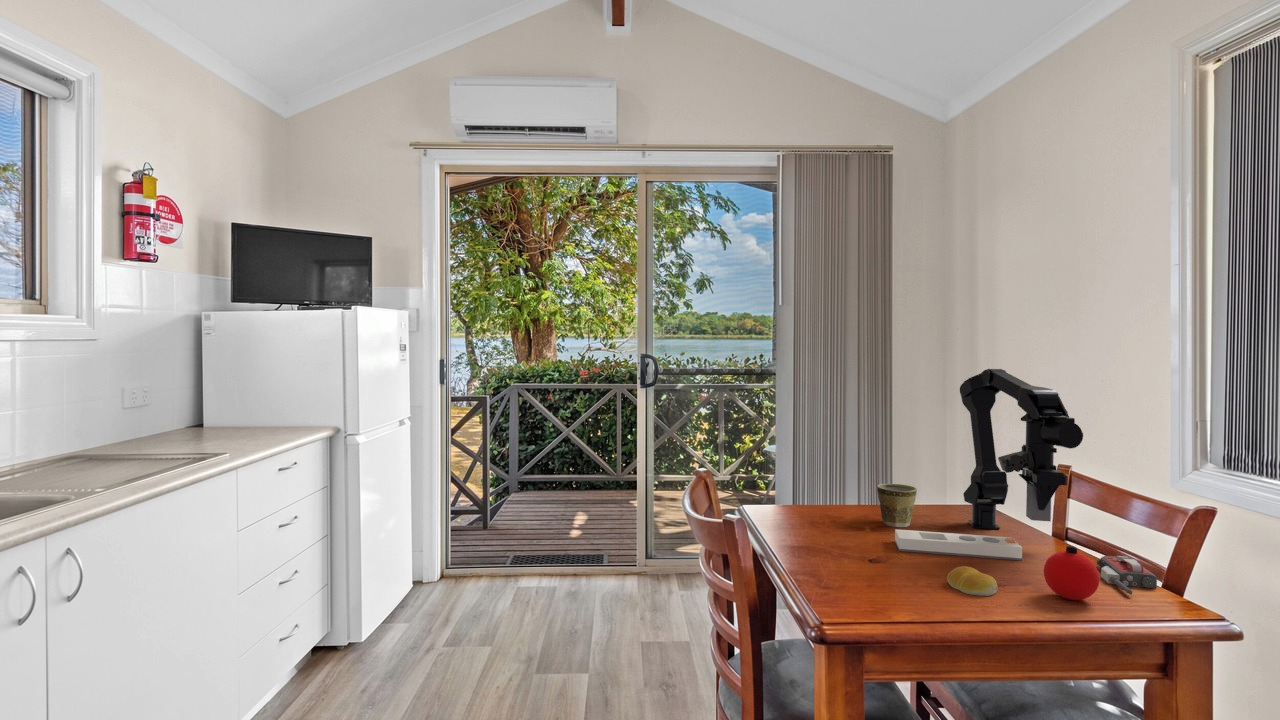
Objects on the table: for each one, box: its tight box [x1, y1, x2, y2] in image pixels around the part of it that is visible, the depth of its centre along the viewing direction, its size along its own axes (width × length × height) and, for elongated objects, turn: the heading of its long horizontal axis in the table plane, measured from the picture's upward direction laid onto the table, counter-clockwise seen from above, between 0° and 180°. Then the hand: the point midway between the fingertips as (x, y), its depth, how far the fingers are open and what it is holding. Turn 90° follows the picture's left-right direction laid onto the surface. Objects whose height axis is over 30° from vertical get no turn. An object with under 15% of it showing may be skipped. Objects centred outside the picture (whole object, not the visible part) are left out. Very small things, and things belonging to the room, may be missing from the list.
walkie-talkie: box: [1096, 555, 1158, 595], centre depth 138 cm, size 9×4×20 cm
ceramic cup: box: [876, 483, 918, 528], centre depth 183 cm, size 13×10×10 cm
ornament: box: [1043, 545, 1101, 601], centre depth 128 cm, size 9×9×10 cm
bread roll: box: [946, 565, 998, 597], centre depth 133 cm, size 8×9×4 cm
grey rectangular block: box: [1025, 483, 1052, 522], centre depth 159 cm, size 4×4×8 cm
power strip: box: [894, 528, 1023, 561], centre depth 158 cm, size 8×26×4 cm, turn 76°
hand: (1038, 507), depth 159 cm, fingers closed on grey rectangular block, 4 cm apart
